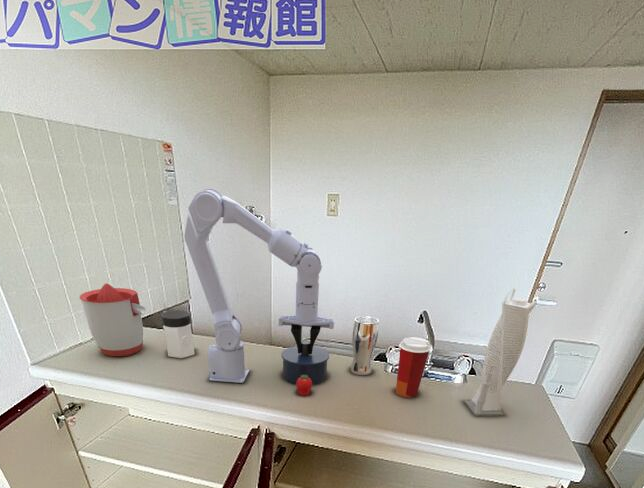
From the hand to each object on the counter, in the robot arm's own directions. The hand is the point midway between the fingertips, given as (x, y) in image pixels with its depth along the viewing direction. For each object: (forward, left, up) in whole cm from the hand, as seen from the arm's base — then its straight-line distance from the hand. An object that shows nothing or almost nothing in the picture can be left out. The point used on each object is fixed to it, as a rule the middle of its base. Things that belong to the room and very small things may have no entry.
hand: (305, 352), depth 111 cm
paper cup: (+28, -6, -7) cm, 30 cm away
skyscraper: (+47, -11, -7) cm, 49 cm away
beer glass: (+16, +6, -7) cm, 19 cm away
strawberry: (+1, -10, -7) cm, 13 cm away
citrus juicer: (-58, +9, -7) cm, 59 cm away
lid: (0, 0, -1) cm, 1 cm away
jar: (-40, +10, -7) cm, 42 cm away
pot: (0, 0, -7) cm, 7 cm away
